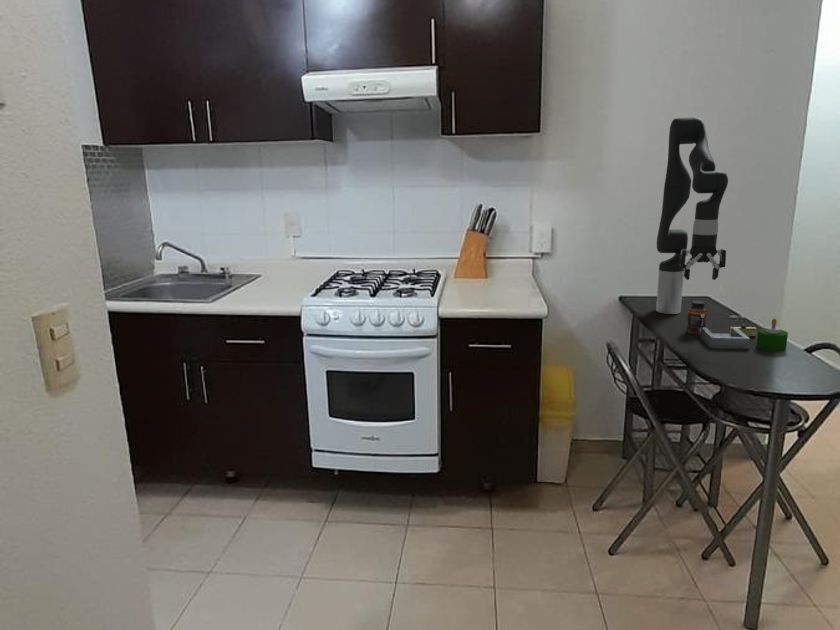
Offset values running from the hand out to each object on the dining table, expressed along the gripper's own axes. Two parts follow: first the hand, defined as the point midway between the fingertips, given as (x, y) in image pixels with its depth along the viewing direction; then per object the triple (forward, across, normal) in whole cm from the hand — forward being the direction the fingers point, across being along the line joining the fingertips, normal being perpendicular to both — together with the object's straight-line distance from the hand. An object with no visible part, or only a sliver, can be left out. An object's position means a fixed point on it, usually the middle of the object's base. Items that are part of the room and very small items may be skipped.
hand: (700, 279), depth 201 cm
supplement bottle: (+20, -1, -3) cm, 20 cm away
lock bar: (+20, -15, 0) cm, 25 cm away
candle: (+20, -20, +13) cm, 31 cm away
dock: (+20, -7, +8) cm, 23 cm away
